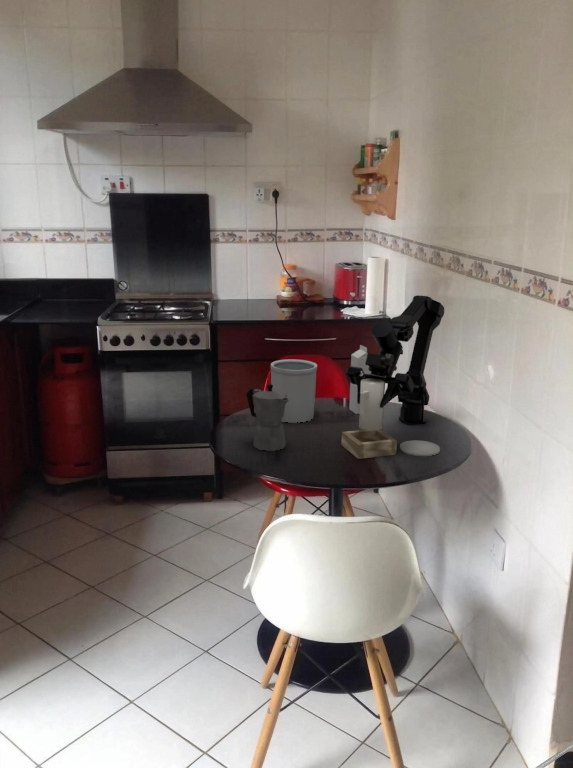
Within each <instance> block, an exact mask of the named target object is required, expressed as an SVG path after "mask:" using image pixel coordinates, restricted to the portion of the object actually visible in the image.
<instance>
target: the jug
mask: <svg viewBox="0 0 573 768" xmlns="http://www.w3.org/2000/svg"><path fill="white" fill-rule="evenodd" d="M384 394H385V383H384V381H383V380H380V379H363V380H361V389H360V414H358V415H359V418H358V419H359V421H358V427H359V429H360V430H370V431H375V430H382V429H383V421H384V420H383V419H384V407H383V408H381V407H380V404H381V401H382V398H383V396H384Z"/></svg>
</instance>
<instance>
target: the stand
mask: <svg viewBox="0 0 573 768" xmlns="http://www.w3.org/2000/svg"><path fill="white" fill-rule="evenodd" d="M340 446H341V447H343V448H344V449H346V450H347V451H348V452H349V453H350V454H352V455H353V456H354V457H355V458H356V459H357V460H360V459H368V458H370V459H371V458H378V457H385V456H386V457H387V456H395V455H397V448H398V447H397V446H398V440H396V439H395V438H393V437H392V436H390V435H389V434H388V433H386V432H385V431H383V430H382V429H380V430H375V431H370V430H364V429H358V430H357V429H356V430H346V431H341V445H340Z"/></svg>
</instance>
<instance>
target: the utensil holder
mask: <svg viewBox="0 0 573 768" xmlns="http://www.w3.org/2000/svg"><path fill="white" fill-rule="evenodd" d="M270 370H271V371H270V373H271V374H270V375H271V376H270V377H271V378H270V384H272V385H273V388H272V390H273V391H280V392H283V393H285V394H286V395H287V399H289V401H288V402H287V403H286V404H285V410H284V416H283V418H282V423H285V422H288V423H287V424H301V423H300V422H303V423H307V422H306V421H308V422H311V421H312V420H313V419H314V415H315V413H314V412H315V401H316V400H315V399H316V382H317V381H316V380H317V370H318V364H317V363H316V362H313V361H310V360H305V359H294V358H293V359H288V358H287V359H280V360H279V359H278V360H275V361H273V362H271V363H270ZM311 419H312V420H311ZM297 422H298V423H297Z"/></svg>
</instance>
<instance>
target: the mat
mask: <svg viewBox="0 0 573 768" xmlns="http://www.w3.org/2000/svg"><path fill="white" fill-rule="evenodd" d="M440 447H441V446H439V445H438V444H436V443H434V442H431V441H426V440H416V439H415V440H406V441H403V442H401V443H400V444H399V449H400V451H401V452H403V453H404V454H406V455H410V456H414V457H433V456H432V455H434V456H436V454H437V455H438V454H439V453H440V452H441V448H440Z"/></svg>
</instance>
